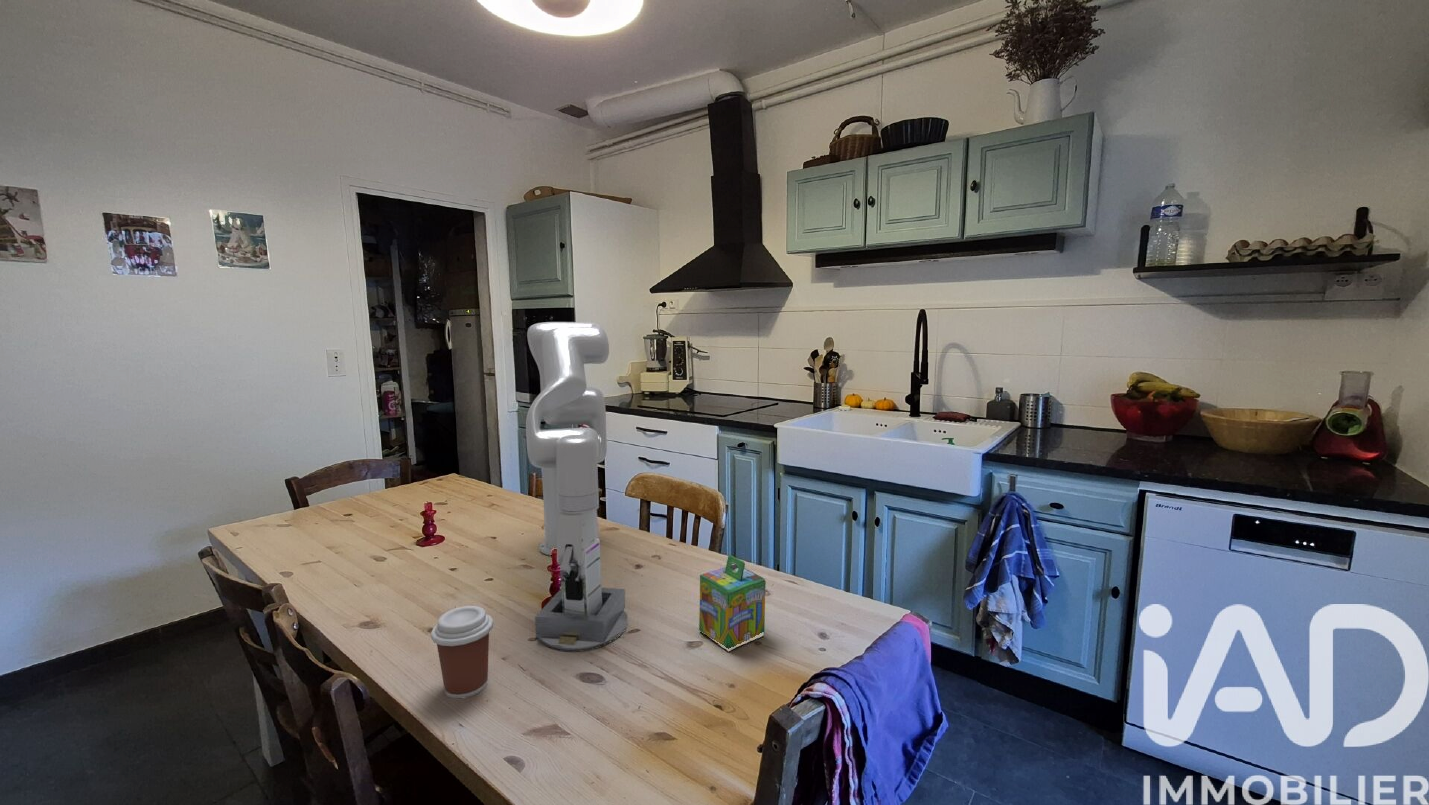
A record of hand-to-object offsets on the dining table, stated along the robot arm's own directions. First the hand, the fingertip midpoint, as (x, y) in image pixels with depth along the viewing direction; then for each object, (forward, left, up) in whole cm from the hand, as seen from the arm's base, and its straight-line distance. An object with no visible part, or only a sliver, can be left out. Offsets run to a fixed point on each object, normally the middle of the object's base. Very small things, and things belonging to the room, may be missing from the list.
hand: (581, 589), depth 108 cm
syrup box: (0, 0, -5) cm, 5 cm away
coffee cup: (+20, -12, -8) cm, 25 cm away
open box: (0, 0, -7) cm, 7 cm away
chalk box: (-1, +29, -8) cm, 30 cm away
